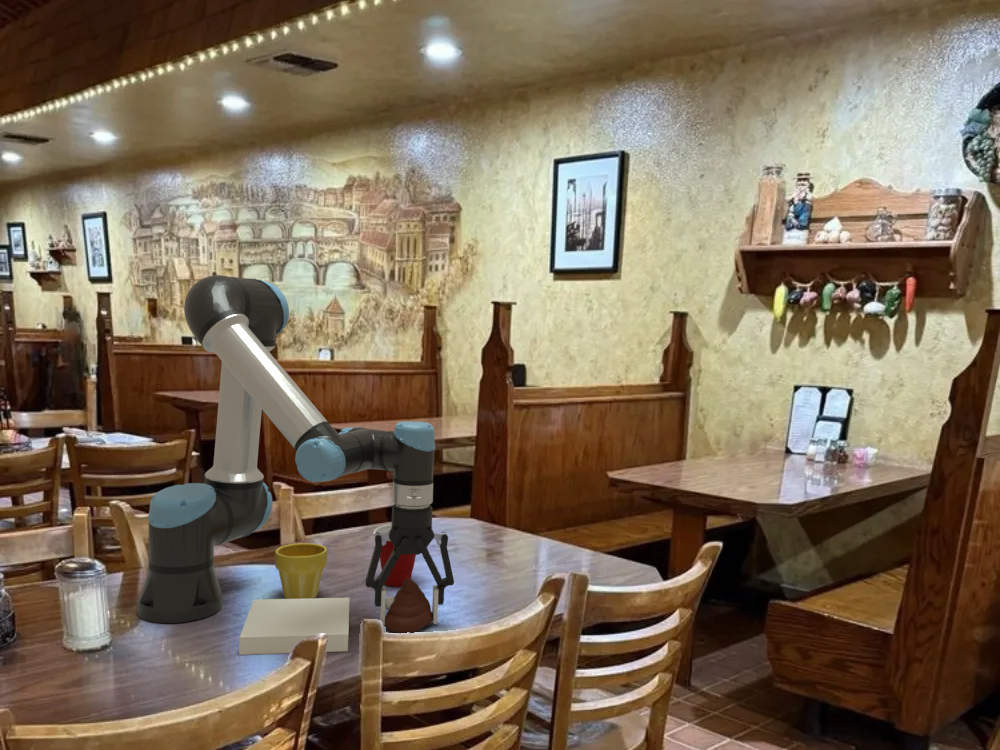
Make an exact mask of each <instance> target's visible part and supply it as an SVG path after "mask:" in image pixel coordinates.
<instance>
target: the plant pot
mask: <svg viewBox="0 0 1000 750" xmlns="http://www.w3.org/2000/svg"><path fill="white" fill-rule="evenodd" d="M274 553H275V554H274V555H275V556H274V563H275V564H274V565H275V568H276V570H278V573H279V577H280V583H281V587H282V593H283V597H284V599H309V598H317V597H318V593H319V588H320V584H321V583H320V582H321V580H322V575H323V571H324V568H325V567H326V566H327V562H328V548H327V547H326V546H325V545H322V544H318V543H310V542H309V543H308V542H304V543H303V542H302V543H300V542H299V543H289V544H286V545H285V544H284V545H282V546H280V547H278V548H277V549H275V552H274Z"/></svg>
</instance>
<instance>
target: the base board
mask: <svg viewBox="0 0 1000 750" xmlns="http://www.w3.org/2000/svg"><path fill="white" fill-rule="evenodd" d="M350 599H351V598H350V597H324V598H323V597H322V598H321V597H319V598H318V597H315V598H309V599H286V598H270V599H268V598H267V599H266V598H265V599H253V601H252V603H251V605H250V608H249V611H248V614H247V615H246V619H245V622H244V625H243V627H242V628H241V629H242V630H241V631H240V635H239V638H238V639H239V641H238V643H239V646H238V647H239V648H238V655H239V656H243V655H246V656H247V655H268V654H270V655H272V654H273V655H274V654H276V655H277V654H292V653H291V652H292V649H293V647H294V645H295V644H296V643H297V642H299V641H301V640H303V639H305V638H307V637H310V636H313V635H316V634H318V633H326V634H327V635H328V642H327V646H326V650H325V652H324V653H329V652H330V653H335V652H348V651H349V630H350V629H349V626H350V624H349V623H350Z"/></svg>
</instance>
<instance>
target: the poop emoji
mask: <svg viewBox="0 0 1000 750" xmlns="http://www.w3.org/2000/svg"><path fill="white" fill-rule="evenodd" d="M431 608H432V606H431V604H430V601H429V599H428V598H427V597H426V594H425V593H424V592H423V590H422V589H421V588H420V587H419V585H418V584H417V583H416V582H415V581H414V580H413V579H412V578H411V579H409V578H405V580H404V581H403V583H402V586H401V587H400V588H399V590H398V591H397V592H396V594H395V596H393V595H389V596H386V598H385V610H387V612H386V613H385V625H384V626H385V627H386V629H387V630H389V631H390V632H392V633H396V634H401V633H407V632H414V633H416V632H418V631H420V630H423V628H425V627H429V626H430V625H432V624H433V614H432V609H431Z"/></svg>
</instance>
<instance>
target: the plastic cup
mask: <svg viewBox="0 0 1000 750" xmlns="http://www.w3.org/2000/svg"><path fill="white" fill-rule="evenodd" d="M391 527H392V523H389V524H384V525H380V526H378V527H376V528H375V529H373V533H372V534H373V536H374V537H375V533H377V532H379V533H380V534H383V533H389V531H390V530H391ZM394 547H395V546H394V545H393V543H392V542H391V540H390V539H388V540H387V541H386V544H385V545H384V546H382V551H381V555H380V559H379V563H380V569H381V570H382V569H383V568H384V566H385V564H386V562H387V560H388V559H389V557H390V555H391V553H392V550H393V549H394ZM416 557H417V555H415V554H408V555H403V554H401V556H400V558H399V559H398V560H397V562H396V564H395V566H394V567H393V569H392V571H391V573H390V575H389V576H388V578H387V580H386V582H385V584H384V586H388V587H393V588H399V587H400V588H401V586H402V583H403V581H404V580H405V578H409V579H411V580H412V575H413V570H414V567H415V562H416Z"/></svg>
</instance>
